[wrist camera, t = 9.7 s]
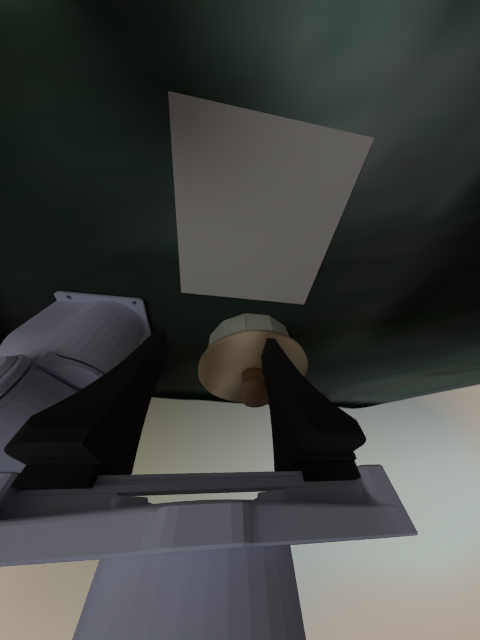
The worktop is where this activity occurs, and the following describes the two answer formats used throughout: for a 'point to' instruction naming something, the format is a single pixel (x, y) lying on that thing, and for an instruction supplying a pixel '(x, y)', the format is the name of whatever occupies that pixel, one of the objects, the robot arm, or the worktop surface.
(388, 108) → the worktop surface
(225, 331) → the bowl
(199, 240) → the mat
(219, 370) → the lid
